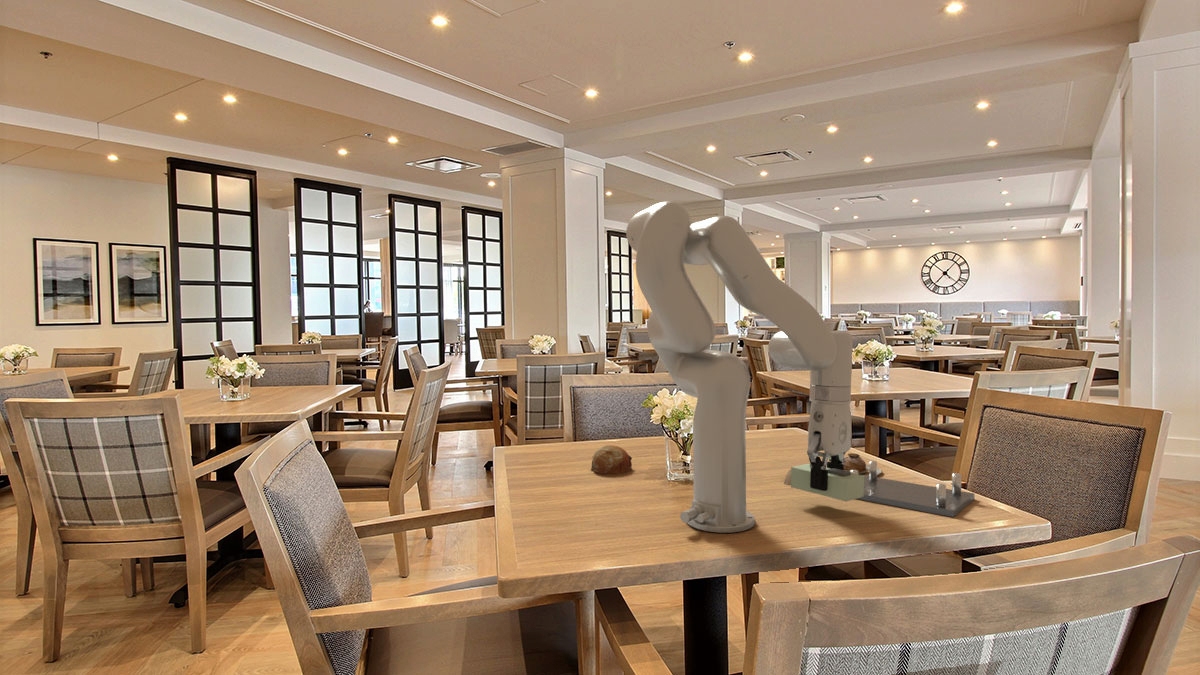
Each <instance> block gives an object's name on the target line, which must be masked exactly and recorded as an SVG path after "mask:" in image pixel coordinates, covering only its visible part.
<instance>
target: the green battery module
mask: <svg viewBox="0 0 1200 675" xmlns="http://www.w3.org/2000/svg"><path fill="white" fill-rule="evenodd" d="M790 469H791V485H790V488H794V489H797V490H800V491H805V492H808V493H812V494H816V495H819V496H824V497H828V498H831V499H836V500H839V501H843V502H849V501H853V500H858V499H857V498H860V497H863V494H864V476H863V474H860V475H859V474H854V473H851V472H849V471H844V470H839V469H835V468H832V469H831V468H827V466H826V470H828V486H827V490H826V491H822V490H817V489H813V488H811V487H810V474H811V468H810V463H806V464H805V463H804V464H800V465H795V466H794V465H793V466H791V468H790Z"/></svg>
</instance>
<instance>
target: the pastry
mask: <svg viewBox="0 0 1200 675" xmlns="http://www.w3.org/2000/svg"><path fill="white" fill-rule="evenodd" d="M844 458H845V462H844V471H849V472H850V470H858V474H859V475H863V474H865V476H869V474H866V473H867V472H869V464H867V463H866V461H865V460H864V459H863V458H862V457H861V456H860V454H858V453H850V452H849V453H848V454H847V456H846V457H844ZM882 472H883V470H882V469H881V468H880V467H877V476H880V475H881V473H882ZM863 476H864V475H863Z"/></svg>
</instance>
